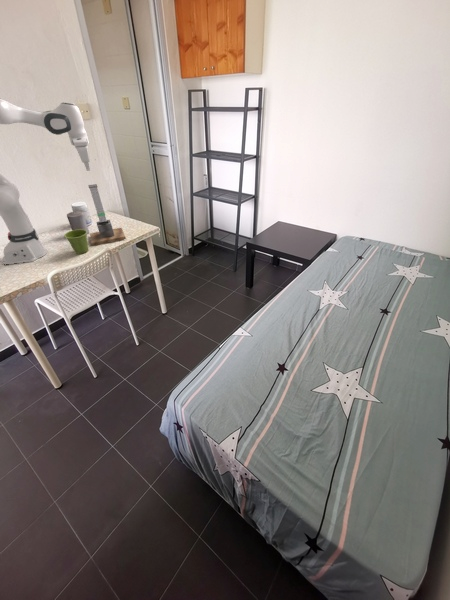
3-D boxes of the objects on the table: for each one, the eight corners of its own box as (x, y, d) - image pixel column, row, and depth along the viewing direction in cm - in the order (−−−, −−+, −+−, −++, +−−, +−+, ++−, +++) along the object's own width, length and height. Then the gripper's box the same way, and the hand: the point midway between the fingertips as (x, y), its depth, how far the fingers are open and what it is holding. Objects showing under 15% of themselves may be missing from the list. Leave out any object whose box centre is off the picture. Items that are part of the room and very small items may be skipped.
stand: (92, 246, 171) (86, 229, 165) (90, 236, 183) (85, 220, 177) (126, 239, 178) (121, 223, 172) (122, 230, 190) (118, 215, 183)
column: (99, 222, 171) (88, 187, 159) (98, 220, 175) (88, 185, 162) (107, 221, 173) (97, 185, 160) (106, 218, 176) (96, 184, 164)
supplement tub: (75, 225, 200) (68, 204, 191) (87, 221, 206) (81, 200, 197) (82, 228, 195) (75, 207, 186) (95, 224, 201) (88, 203, 192)
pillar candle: (73, 233, 188) (64, 211, 179) (88, 229, 192) (81, 208, 183) (74, 238, 182) (66, 215, 172) (90, 234, 185) (83, 212, 176)
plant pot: (69, 257, 160) (61, 238, 154) (73, 248, 170) (67, 230, 163) (91, 254, 162) (84, 236, 155) (94, 246, 171) (88, 228, 165)
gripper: (72, 138, 155) (81, 166, 163) (73, 143, 140) (82, 173, 148) (84, 137, 157) (92, 164, 165) (87, 142, 142) (95, 171, 150)
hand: (87, 168), depth 156 cm, fingers open, 8 cm apart
